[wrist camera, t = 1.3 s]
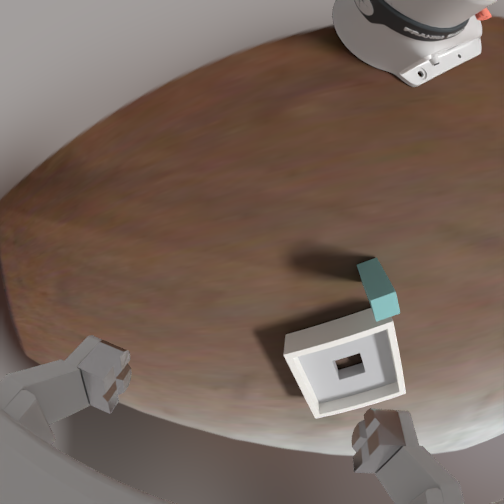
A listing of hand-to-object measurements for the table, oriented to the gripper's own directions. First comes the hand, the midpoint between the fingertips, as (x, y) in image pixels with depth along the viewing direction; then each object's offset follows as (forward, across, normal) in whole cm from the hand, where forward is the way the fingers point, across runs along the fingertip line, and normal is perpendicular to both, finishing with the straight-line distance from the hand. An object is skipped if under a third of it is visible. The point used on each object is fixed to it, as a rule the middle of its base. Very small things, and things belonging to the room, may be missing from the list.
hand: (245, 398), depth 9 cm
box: (+32, -16, +22) cm, 42 cm away
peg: (+32, -13, +6) cm, 35 cm away
